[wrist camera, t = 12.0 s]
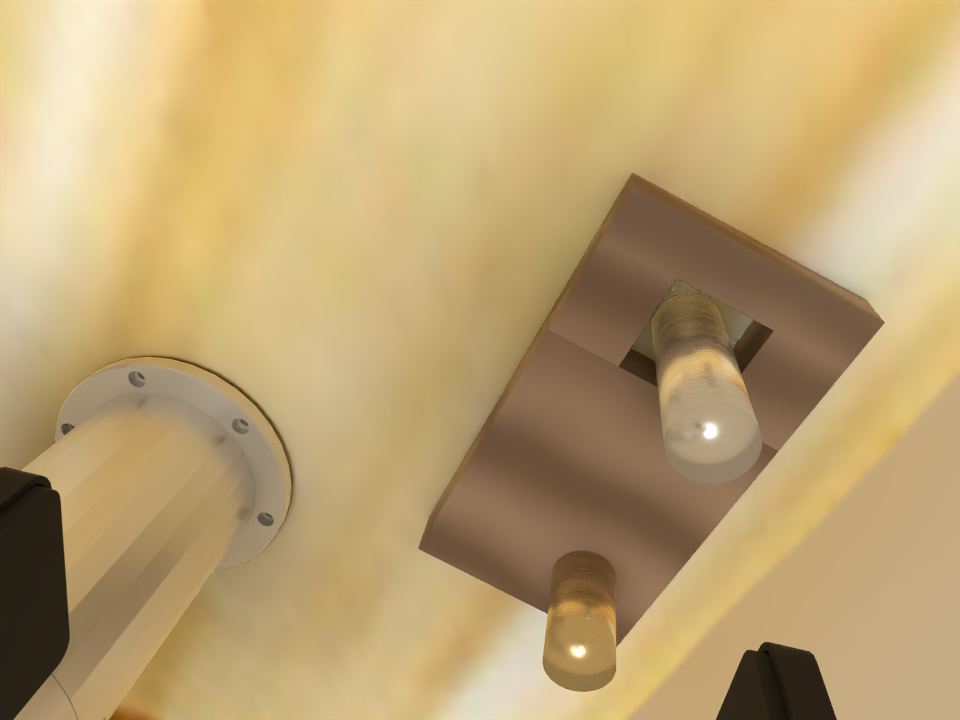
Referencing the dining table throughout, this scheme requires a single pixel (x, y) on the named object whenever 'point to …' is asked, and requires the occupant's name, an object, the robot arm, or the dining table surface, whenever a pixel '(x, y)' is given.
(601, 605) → the short brass pin
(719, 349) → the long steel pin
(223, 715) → the dining table surface
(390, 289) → the dining table surface
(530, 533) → the hole board
